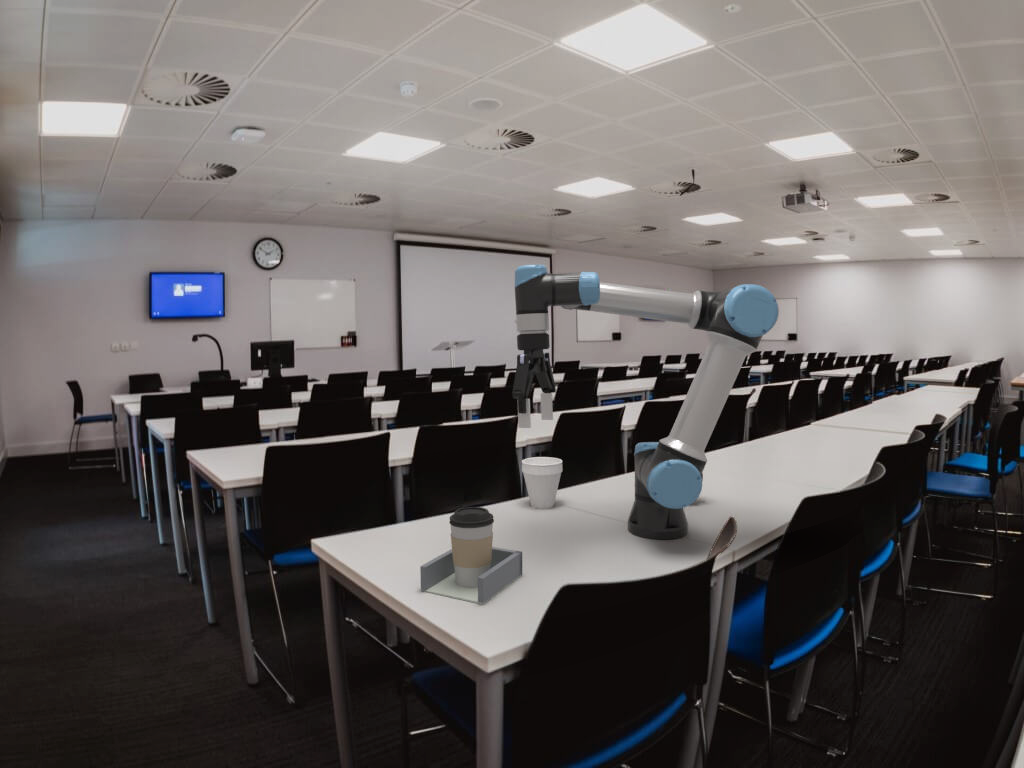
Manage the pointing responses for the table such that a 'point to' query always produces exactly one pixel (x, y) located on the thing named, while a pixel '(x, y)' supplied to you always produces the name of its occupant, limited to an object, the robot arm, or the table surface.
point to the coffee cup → (471, 544)
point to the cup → (542, 480)
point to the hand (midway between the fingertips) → (536, 423)
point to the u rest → (501, 574)
